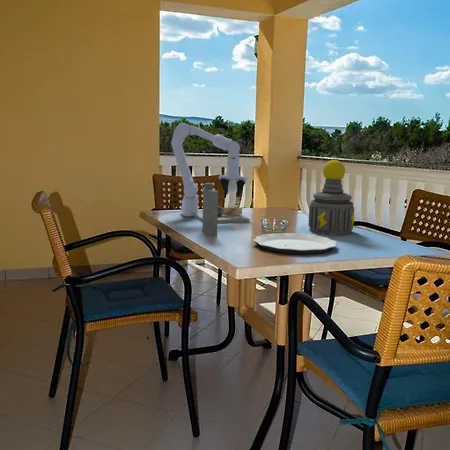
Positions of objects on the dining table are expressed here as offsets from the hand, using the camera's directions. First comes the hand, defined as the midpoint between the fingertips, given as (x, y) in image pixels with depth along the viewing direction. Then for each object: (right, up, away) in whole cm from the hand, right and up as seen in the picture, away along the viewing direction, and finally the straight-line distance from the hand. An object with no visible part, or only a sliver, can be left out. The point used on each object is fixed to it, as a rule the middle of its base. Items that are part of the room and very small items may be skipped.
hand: (232, 195), depth 250 cm
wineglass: (0, -9, +12) cm, 15 cm away
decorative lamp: (+41, -17, -32) cm, 54 cm away
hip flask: (-10, -18, -41) cm, 46 cm away
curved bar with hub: (-5, -10, -7) cm, 13 cm away
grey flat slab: (-5, -12, -8) cm, 15 cm away
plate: (+21, -23, -64) cm, 71 cm away
